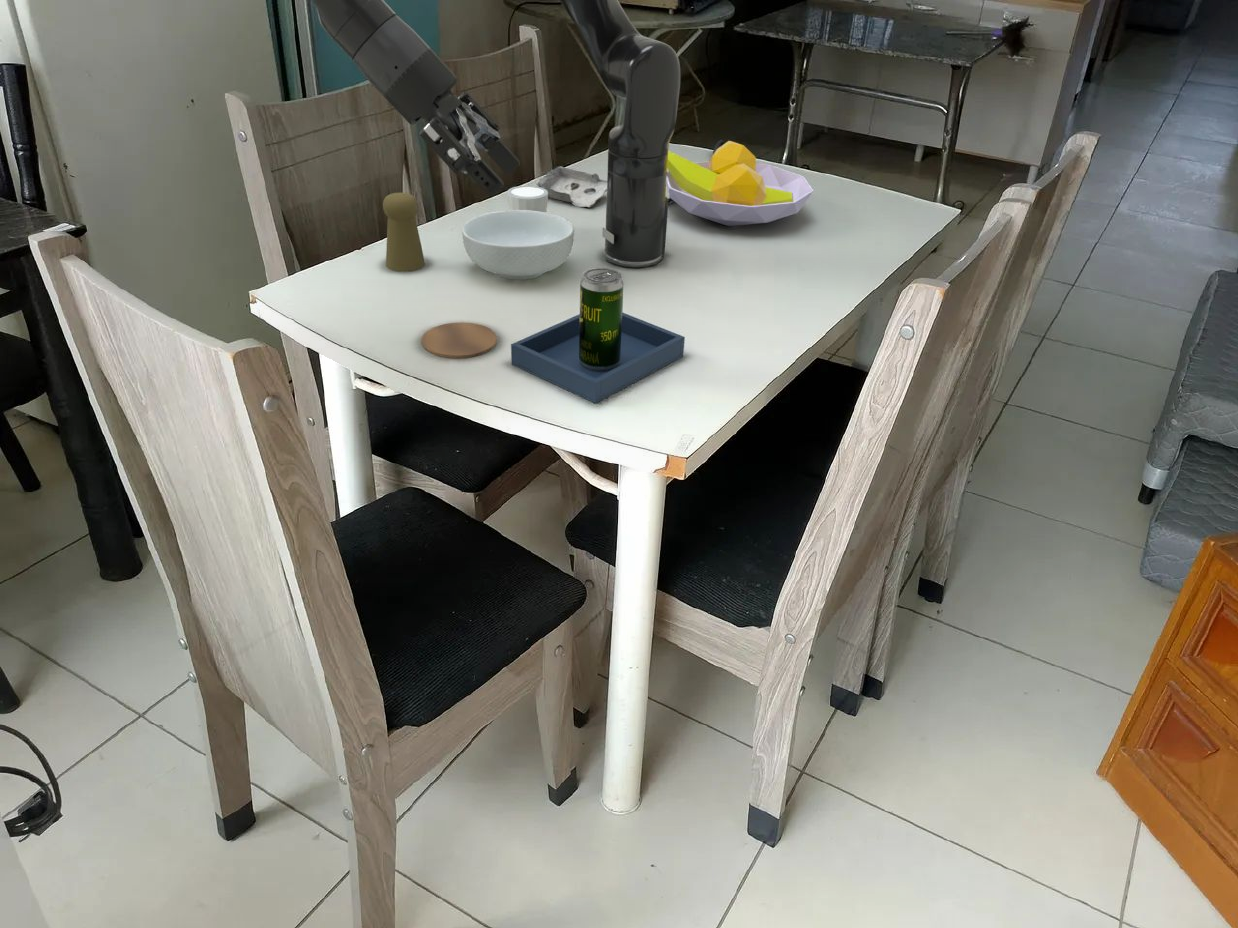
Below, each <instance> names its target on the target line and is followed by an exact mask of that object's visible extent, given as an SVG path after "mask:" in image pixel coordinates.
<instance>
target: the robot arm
mask: <svg viewBox="0 0 1238 928" xmlns="http://www.w3.org/2000/svg"><path fill="white" fill-rule="evenodd" d="M311 2H312V3H313V5H314V7H315V9H316V12H317V17H318V21H319V24H320V26H321V27H322V28H323V30H324V32H326V34H327V35H328V36H329V37H330V38H331V40H333V42H335V44H336V45H337V46H338V47H339V48H340V49H341V50H342V51H343V52H344V53H345V54H346V55H347V56H348V58H350V59H351V61H352V62H353V63H354V64H355V65H356V66H357V68H358V69H359V71H360V72H361V73H362V75H363V76H364V77H365V79H367V81H368V82H369V83H370V84H371V85H372V86H373V87H374V88H375V89H376V91H378V92H379V93H380V94H381V96H383V97H384V99H386V101H387V102H388V103H389V104H390V105H391V106H392V107H393V108H394V109H395V111H396V112H398V113H399V114H400V115H401V116H402V118H404V120H405V121H406V122H407V123H408V124H410V125H416V124H418V123H419V122H420V121H421V120H422V119H423V120H424V122H425V123H426V124H425V125H424V126H423V127H422V129H421V130H420V131H419V132H418V134H419V136H420V137H421V138H422V139H423V140H424V141H425V143H426V144H427V145H428V146H429V147H430V148H431V149H432V151H433V152H434V153H435V154H436V155H437V156H438V157H439V158H440V159H441V161H443V163H445V165H447V167H448V168H449V169H450V170H451V171H452V173H454V174H456V175H458V174H459V173H460V172H462V173H463V174H465V175H467V174H468V175H469V177H471V179H473V180H474V182H475V183H476V184H477V185H478V186H479V187H480V188H481V190H483V191H484V192H485V194H487V195H488V197H489V196H490V197H493V196H495V195H496V194H498V192H499V191H500V190H501V189H502V188H503V187H504V185H505V182H504V180H503V179H501V177H500V176H499V175H498V174H497V173H496V172H495V171H494V170H493V169H492V167H491V166H490V165H489V164H488V163H487V162H486V161H485V160H484V158H482V157H481V156H480V154H479V152H478V150H477V148H476V146H477V147H478V148H480V149H482V150H483V151H484V152H486V154H487V155H488V156H489V157H490V159H492V161H493V162H494V163H495V164H496V165H497V166H498V167H499V168H500V170H502V171H503V173H505V175H508V176H509V175H511V174H513V172H515V171H516V170H517V169H518V168H519V167H520V165H521V161H520V159H519V158H518V157H517V156H516V154H514V153H513V151H512V150H511V149H509V148H510V147H508V146H507V145H506V144H505V143H504V142H503V140H502V139H501V135H500V133H499V131H501V128H500V125H499V124H498V123H496V121H495V120H494V119H493V118H492V117H491V116H490V115H489V114H488V113H487V112H486V111H485V110H484V108H482V106H481V105H479V103H478V102H477V101H476V100H475V99H474V98H473V97H472V96H471V95H470V93H468V92H467V91H463V92H462V93H460V95H459V96H458V97H457V96H456V95H455V94H453V93H452V91H451V89H452V88H453V87H454V86H455V85H456V84H457V79H458V78H457V76H456V75H455V74H454V72H453V71H451V69H450V68H449V67H448V66H447V65H446V63H445V62H444V61H443V60H442V59H441V58H440V57H439V56H438V55H437V54H436V53H435V52H434V51H433V49H431V47H430V46H429V45H428V44H427V43H426V41H424V39H422V37H421V36H420V35H419V34H418V33H417V32H416V31H415V30H414V29H413V28H412V27H411V26H410V25H409V24H407V23H406V22H405V21H404V20H403V19H402V18H400V16H398V15H397V13H396V12H395V11H394V10H393V9H392V8H391V7H390V6H389V4H387V2H386V1H385V0H311ZM559 3H560V4H561V5H562V7H563V8H564V10H565V11H566V13H567V15H568V16H569V18H570V19H571V21H572V22H573V25H575V27H576V28H577V30H578V32H579V34H580V37H581V38H582V40H583V42H584V44H585V47H586V48H587V51H588V52H589V54H590V57H591V59H592V60H593V61H592V62H593V63H594V66H595V68H596V70H597V73H598V74H599V77H600V78H601V81H602V82H603V84H604V85H605V87H606V88H607V89H608V91H609V92H610V93H612V95H614V96H615V97H617V98H619V99H620V100H622V101H623V100H624V101H625V108H624V118H623V122H622V124H620V125H616V126H614V127H613V128H611V130H609V134H608V140H607V142H608V145H607V148H608V149H607V173H606V174H607V176H606V177H607V178H606V181H607V191H606V206H605V208H606V209H605V228H604V227H602V231H601V232H602V238H604V249H603V256H604V259H605V260H606V261H608V262H609V263H611V264H613V265H617V266H621V267H625V268H626V267H627V268H646V267H651V266H654V265H657V264H659V263H660V262H661V261H662V259H663V256H665V254H666V243H667V242H666V241H667V227H668V215H669V214H668V211H669V204H670V203H672V202H675V201H674V200H672V199H671V198H670V197H669V198H668V196H666V193H667V183H666V180H667V172H668V168H667V164H668V151H669V147H670V143H671V140H672V137H673V135H674V132H675V129H676V125H677V117H678V110H679V109H678V107H679V99H680V89H681V76H682V73H681V65H680V64H681V63H680V59H679V57H678V54H677V53H676V50H675V49H673V47H672V46H671V45H669V44H667V43H665V42H662V41H660V40H657V39H653V38H651V37H647V36H645V35H642V34H641V33H640V32H639V31H638V30H637V28H636V27H635V25H634V24H633V23H632V22H631V20H630V19H629V17H628V15H627V14H626V12H625V10H624V8H623V7H622V5H621V3H620V1H619V0H559ZM724 144H725V142H724V140H722V139H720V140H718V141H717V143H716V144H715V145H714V148H713V150H712V155H713V154H714V153H715V151H716V150H717V149H718V148H719V147H721V146H722V145H724Z"/></svg>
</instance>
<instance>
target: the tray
mask: <svg viewBox="0 0 1238 928" xmlns="http://www.w3.org/2000/svg"><path fill="white" fill-rule="evenodd" d="M579 324H580V313H579V314H576V315H574V316H572V317H569V318H568V319H565V320H563V321H560V322H559V323H556V324H554V325H551V326H549V327H546V328H545V329H543V330H540V331H538V332H536V333H533V334H531V335H529V336H526V337H524V338H522V339H519V340H517V341H514V342H513V343H511V344H510V354H511V355H510V356H511V357H510V358H511V362H510V364H511V365H512V366H513V367H514V366H515V367H516V368H519V369H521V370H523V371H525V372H528V373H529V374H532V375H534V376H536V377H538V378H539V379H542V380H544V381H547V382H549V383H550V384H553V385H555V386H557V387H559V388H561V389H563V390H566V391H568V392H570V393H571V394H574V395H576V396H578V397H581V398H583V399H584V400H587V401H589V402H591V403H593V404H597V403H600V402H601V401H603V400H605V399H608V398H609V397H611V396H612V395H614V394H616V393H618V392H620V391H622V390H624V389H626V388H627V387H630V386H631V385H633V384H635V383H636V382H639V381H640V380H642V379H644V378H646V377H648V376H649V375H652V374H653V373H655V372H657V371H659V370H661V369H663V368H664V367H666V366H668V365H671V364H672V363H674V362H676V361H678V360H679V359H682V358H683V357H684V353H685V352H684V351H685V341H686V337H685V336H684V335H681V334H678V333H677V332H674V331H671V330H668V329H666V328H663V327H660V326H659V325H655V324H653V323H650V322H648V321H645V320H644V319H641V318H638V317H635V316H633V315H630V314H627V313H626V312H623V311H622V331H621V353H620V360H619V362H618V364H617V366H616V367H615V368H613V369H611V370H607V371H594V370H590V369H587V368H585V367H584V366H583V365H582V364H581V362H580V360H579Z"/></svg>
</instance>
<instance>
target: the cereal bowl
mask: <svg viewBox="0 0 1238 928" xmlns="http://www.w3.org/2000/svg"><path fill="white" fill-rule="evenodd" d="M461 234H462V241H463V247H464V249H465V252H466V254H467V256H468V257H469V259H470V260H471V261H472V262H473V263H474V264H475V265H477V266H478V267H480V269H483V270H485V271H487V272H490V273H492V274H496V275H497V276H499V277H501V278H504V279H508V280H515V281H524V280H531V279H532V280H533V279H536V278H539V277H541V276H542V275H544V274H545V273H548V272H550V271H552V270H554V269H557V267H560V266H561V265H562V264H563V263H564V262H565V261H566V260H567V259H568V258H569V256H570V254H571V252H572V249H573V246H574V242H575V241H574V239H575V238H574V237H575V229H574V226H573V224H572V222H571V221H569V220H568V219H566V218H564V217H562V216H560V215H557V214H554V213H550V212H540V211H531V210H509V209H507V210H499V211H492V212H487V213H482V214H480V215H477V216H475V217H473V218H470V219H469V220H467V221H466V222H465V223H464V224H463V226H462V231H461Z"/></svg>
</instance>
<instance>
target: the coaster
mask: <svg viewBox="0 0 1238 928" xmlns="http://www.w3.org/2000/svg"><path fill="white" fill-rule="evenodd" d="M497 343H498V336H497V334H496V332H495V331H494V330H493V329H491V328H489V327H488V326H486V325H482V324H478V323H474V322H449V323H443V324H440V325H436V326H434V327H431V328H429V329H428V330H427V331H425V333H423V335H422V337H421V345H422V347H423V349H424V350H426V352H429V353H430V354H433V355H435V356H438V357H443V358H448V359H449V358H450V359H465V358H472V357H478V356H480V355H481V356H482V355H483V354H485V353H488V352H490V351H491V350H493V349H494V348H495V346H496V345H497Z"/></svg>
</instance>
